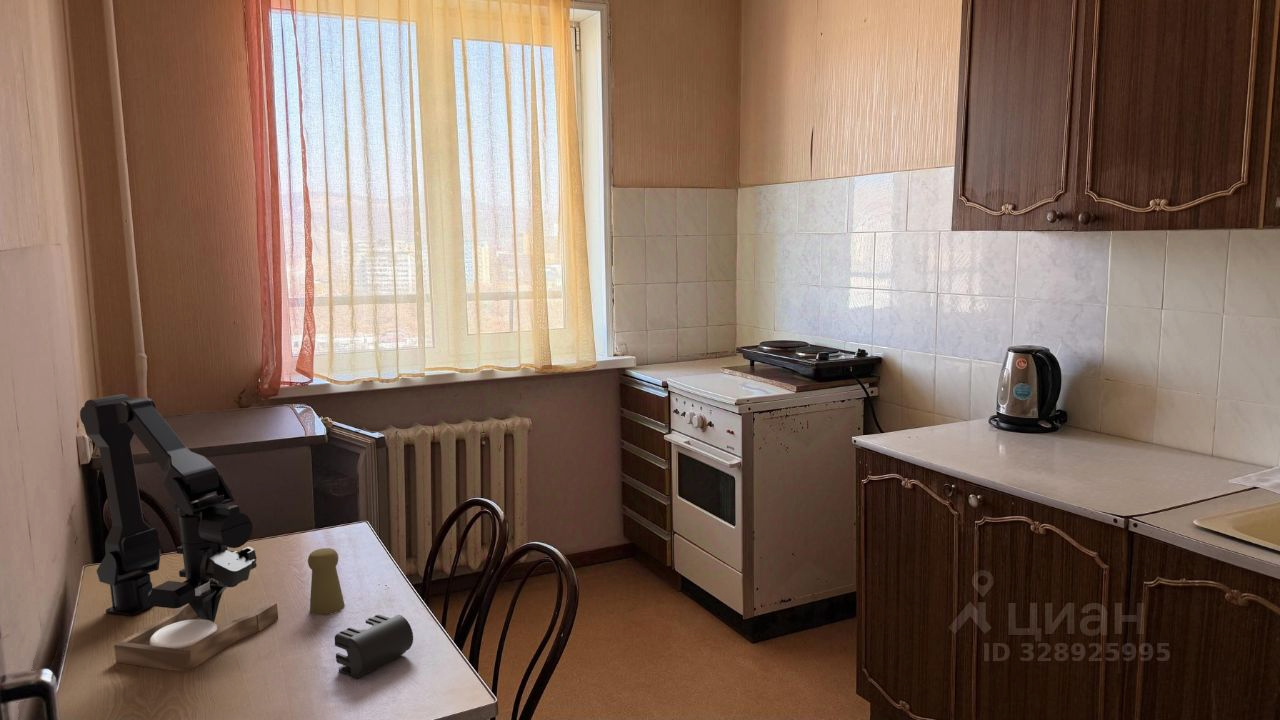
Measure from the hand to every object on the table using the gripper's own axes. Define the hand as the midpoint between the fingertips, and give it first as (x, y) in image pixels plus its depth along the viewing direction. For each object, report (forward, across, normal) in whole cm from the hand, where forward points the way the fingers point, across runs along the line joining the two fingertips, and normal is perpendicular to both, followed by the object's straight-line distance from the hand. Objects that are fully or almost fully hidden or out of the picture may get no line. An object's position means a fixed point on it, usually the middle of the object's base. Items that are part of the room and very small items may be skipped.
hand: (209, 625), depth 153 cm
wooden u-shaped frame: (+1, -3, 0) cm, 3 cm away
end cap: (+2, -4, -35) cm, 35 cm away
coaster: (+2, -6, -1) cm, 7 cm away
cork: (+2, +13, -14) cm, 19 cm away
